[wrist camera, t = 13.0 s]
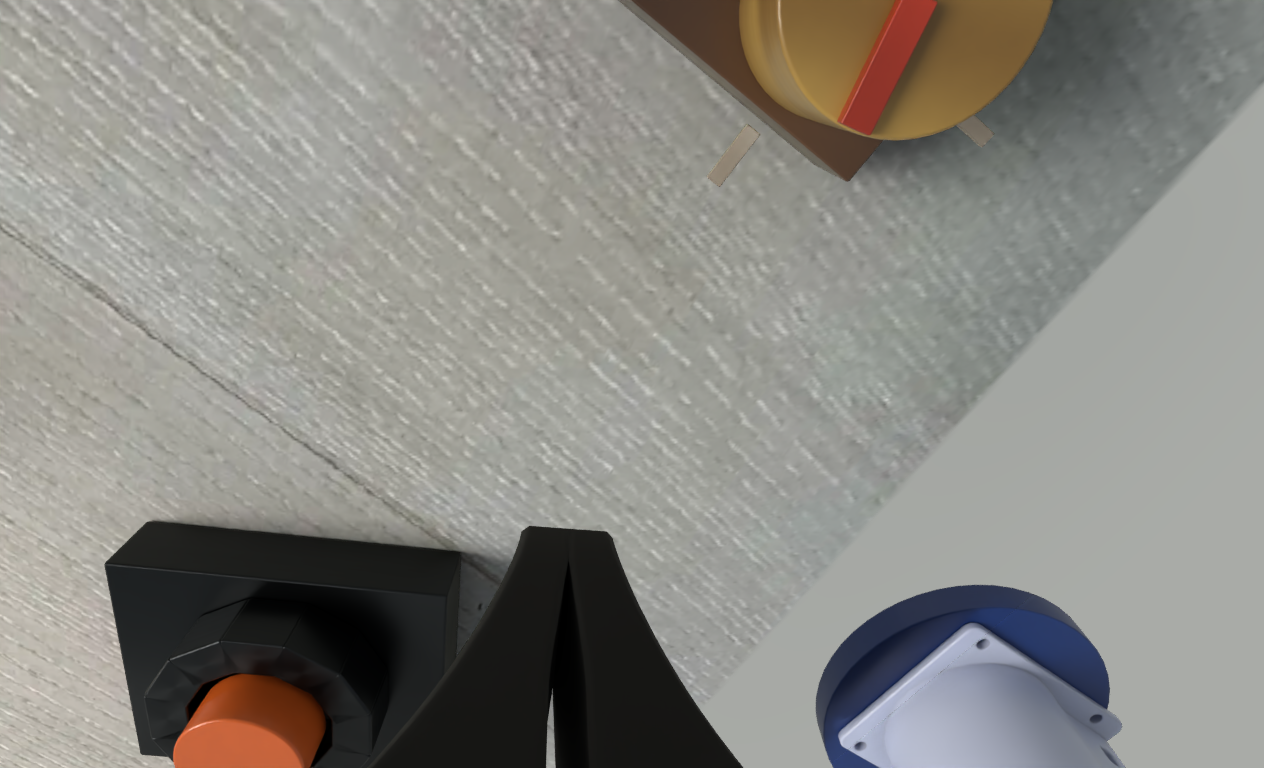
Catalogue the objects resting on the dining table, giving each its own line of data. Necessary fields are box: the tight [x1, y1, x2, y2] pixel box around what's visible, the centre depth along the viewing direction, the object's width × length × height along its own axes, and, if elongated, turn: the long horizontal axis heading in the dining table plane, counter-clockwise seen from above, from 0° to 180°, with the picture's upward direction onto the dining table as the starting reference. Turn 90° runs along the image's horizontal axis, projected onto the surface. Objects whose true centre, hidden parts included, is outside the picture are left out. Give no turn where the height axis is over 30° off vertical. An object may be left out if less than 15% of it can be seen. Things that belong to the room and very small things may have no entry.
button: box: [173, 674, 326, 768], centre depth 21 cm, size 4×4×2 cm
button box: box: [105, 522, 461, 768], centre depth 23 cm, size 10×8×4 cm
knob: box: [739, 0, 1053, 141], centre depth 13 cm, size 4×4×4 cm
